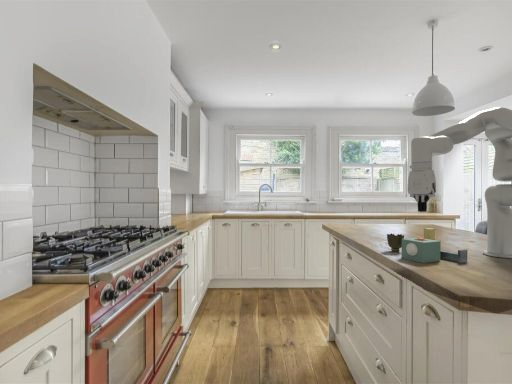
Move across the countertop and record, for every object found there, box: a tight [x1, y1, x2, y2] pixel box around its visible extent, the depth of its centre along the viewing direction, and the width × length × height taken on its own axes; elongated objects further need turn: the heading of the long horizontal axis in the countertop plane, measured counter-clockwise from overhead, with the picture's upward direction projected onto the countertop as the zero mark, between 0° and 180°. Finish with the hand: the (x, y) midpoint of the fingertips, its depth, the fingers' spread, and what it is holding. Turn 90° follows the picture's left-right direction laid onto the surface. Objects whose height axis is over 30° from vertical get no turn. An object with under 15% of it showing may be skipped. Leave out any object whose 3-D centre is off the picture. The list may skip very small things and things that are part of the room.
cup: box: [386, 233, 405, 253], centre depth 139 cm, size 8×7×8 cm
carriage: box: [423, 227, 436, 240], centre depth 131 cm, size 6×6×11 cm
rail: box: [440, 248, 468, 264], centre depth 127 cm, size 4×19×5 cm, turn 24°
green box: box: [401, 237, 441, 264], centre depth 123 cm, size 10×10×8 cm
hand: (422, 211), depth 123 cm, fingers closed
